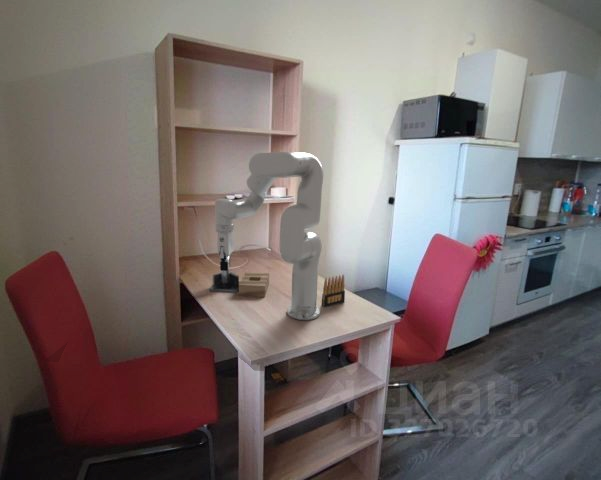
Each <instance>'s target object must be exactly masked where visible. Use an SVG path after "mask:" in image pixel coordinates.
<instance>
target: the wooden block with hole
mask: <svg viewBox="0 0 601 480" xmlns="http://www.w3.org/2000/svg"><path fill="white" fill-rule="evenodd" d="M239 282H240V284H239V290H238V296H239V297H255V298H266V294H267V292H268V288H269V286H270V273H269V272H268V273H266V272H265V273H264V272H244V275H243V277H242V278H241V280H240V281H239Z"/></svg>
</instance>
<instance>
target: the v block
mask: <svg viewBox="0 0 601 480" xmlns="http://www.w3.org/2000/svg"><path fill="white" fill-rule="evenodd" d="M239 278H240V277H239V274H236V273H234V272H231V271H230V282H229V283H222V282H221V272H218V273H214V274H212V286H211V287H210V288H209V292H219V293H222V292H223V293H239V284H240V282H241V281H240V279H239Z"/></svg>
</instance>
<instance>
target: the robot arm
mask: <svg viewBox="0 0 601 480" xmlns="http://www.w3.org/2000/svg"><path fill="white" fill-rule="evenodd" d="M248 169H249V172H250V175H249V176H248V178H247V180H246V186H247V187H248V189H249V191H251V192H250V194H249V195H248V196H247V197H246V198H242V199H237V200H232V199H230V198H217V199H216V200H215V203H214V209H215V210H214V214H215V215H214V216H215V217H214V218H215V220H214V221H215V232H216V233H217V255H218V256H219V269H220V272H221V271H228V262H227V255H228V256H229V268H231V255H232V253H233V251H234V236H233V233H234V231H235V229H234V226H235V225H234V221H235V220H240V219H242V218H243V219H245V218H248V217H252V216H254V215H255V214H257V212H258V210H260V208H261V207H262V206H263V205H264V203H265V199H266V192H267V191H268V190H269V188H271V187H272V185H274V182H275V181H276V180H277V179H278V178H279V179H280V178H281V179H282V178H283V179H286V178H298V177H299V178H300V182H299V185H298V188H297V198H296V204H292V205H289V206H288V207H286V208H285V209H284V210H283V212H282V214H281V217H280V225H279V253H280V257H281V258H282V260H283V261H284V262H285V263H287V264H290V265H292V271H291V272H292V274H291V275H292V276H291V303H290V306H289V307H287V309H286V314H287V315H288V316H289V317H290V318H291V319H295V320H299V321H309V320H314V319H317V318H318V317H320V315H321V310H320V308H319V307H318V306H317V300H318V299H317V297H318V281H319V280H318V279H319V264H320V258H321V253H322V241H321V239H320V237H319V235H317V233H315V232H312V231H309V230H312V229H314V228H316V227H317V226H318V225H319V223H320V220H321V207H322V191H323V183H324V170H323V166H322V164H321V162H320V161H319V159H318V158H317V157H316V156H314V155H313V154H311V153H307V152H303V151H302V152H301V151H275V152H258V153H255V154H253V155H252V157H251V158H250V160H249V161H248ZM224 256H225V257H224Z"/></svg>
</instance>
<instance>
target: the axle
mask: <svg viewBox="0 0 601 480" xmlns="http://www.w3.org/2000/svg"><path fill="white" fill-rule="evenodd" d="M224 257H225V256H224ZM229 259H230V258H229V256H228V255H227V262H228V271H221V270H220V273H221V282H222V283H229V282H230V272H231V271H230V268H231V267H230V268H229Z"/></svg>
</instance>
